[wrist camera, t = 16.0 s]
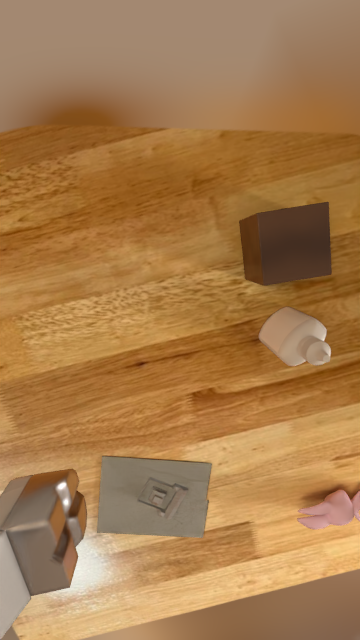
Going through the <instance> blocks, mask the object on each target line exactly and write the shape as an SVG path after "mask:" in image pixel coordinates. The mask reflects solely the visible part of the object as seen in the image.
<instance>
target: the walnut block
mask: <svg viewBox="0 0 360 640" xmlns="http://www.w3.org/2000/svg"><path fill="white" fill-rule="evenodd" d="M239 223H240V232H241V242H242V251H243V260H244V270H245V279H246V280H249V281H252V282H255V283H258V284H261V285H270V284H276V283H282V282H288V281H294V280H301V279H307V278H313V277H319V276H325V275H331V250H330V226H329V202H324V203H317V204H311V205H305V206H299V207H293V208H286V209H280V210H274V211H268V212H262V213H257V214H254V215H252V216H250V217H247V218H245V219H242V220H240V221H239Z"/></svg>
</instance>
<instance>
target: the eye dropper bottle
mask: <svg viewBox="0 0 360 640" xmlns="http://www.w3.org/2000/svg"><path fill="white" fill-rule="evenodd" d="M326 332H327V330H326V328H325V327H324V326H323V325H322V324H321V323H320V322H319V321H318V320H317V319H315V318H313V317H311V316H309V315H306V314H304V313H302V312H300V311H297V310H295V309H293V308H291V307H284V308H282V309H280V310H278V311H277V312H275V313H274V314H273V315H271V316H270V317H269V318H268V319H267V321H266V322H265V323H264V325H263V326H262V328H261V330H260V333H259V339H260V341H261V342H262V343H263V344H264V345H266V346H267V347H268V348H269V349H270V350H271V351H272V352H273V353H274V354H275V355H276V356H278V357H279V358H280V359H281V360H282V361H283V362H284V363H286V364H287V365H289V366H296V365H299V364H301V363H303V362H305V361H308V362H309V363H310V364H312V365H322V364H324V363H325V362H329V361H330V355H331V349H330V346H329V345H328V344H327V343H326V342H324V340H325V337H326Z"/></svg>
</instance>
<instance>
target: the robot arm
mask: <svg viewBox="0 0 360 640" xmlns="http://www.w3.org/2000/svg"><path fill="white" fill-rule="evenodd" d="M78 484H79V479H78V476H77V473H76V471H75V470H74V469H67V470H60V471H54V472H47V473H41V474H35V475H29V476H24V477H18V478H15V479H13V480H11V481H10V482H9V484H8V485H7V487H6V488H5V490H4V491H3V493H2V494H1V496H0V639H1V638H2V637H3V636H4V634H5V633H6V632H7V630H8V629H9V627H10V626H11V625H12V624H13V622H14V621H15V620H16V618H17V617H18V616H19V614H20V613H21V612H22V610H23V609H24V608H25V606H26V605H27V604H28V602H29V601H30V600H31V596H33V595H38V594H42V593H47V592H51V591H56V590H61V589H65V588H70V585H71V581H72V577H73V574H74V570H75V567H76V563H77V559H78V554H77V551H76V548H75V547H76V546H77V545H78V544H79V543H80V541H81V540H82V539H83V537H84V533H85V529H86V522H87V509H86V502H85V499H84V496H83V495H82V494H81V493H80V492H78V491H77V487H78Z"/></svg>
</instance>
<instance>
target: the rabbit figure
mask: <svg viewBox="0 0 360 640" xmlns="http://www.w3.org/2000/svg"><path fill="white" fill-rule="evenodd" d="M359 510H360V490H359V491H358V492H357V494H356V495H355V496H354V497H353V498H352V499H351V500H350V499H349V497H348V495H347V494H346V492H345V491H343V490H337V491H335V492H334V493H332V494H329V495H328V496H327V497H326V498H325V500H324V501H323V502H321V503H320V504H318V505H315V506H312V507H308V508H302V509H299V510H298V512H300V513H304V514H308V515H314V516H310V517H304V518H297V520H298V521H299V522H300V523H301V524H303V525H304V526H306V527H308V528H310V529H322V528H325V527H327V526H328V525H330V524H332V525H345V524H348V523H349V522H351V521H352V519H353V517H354V515H355V517H356V518H357V519H358V520H359V521H360V516H359V514H358V511H359Z"/></svg>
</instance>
